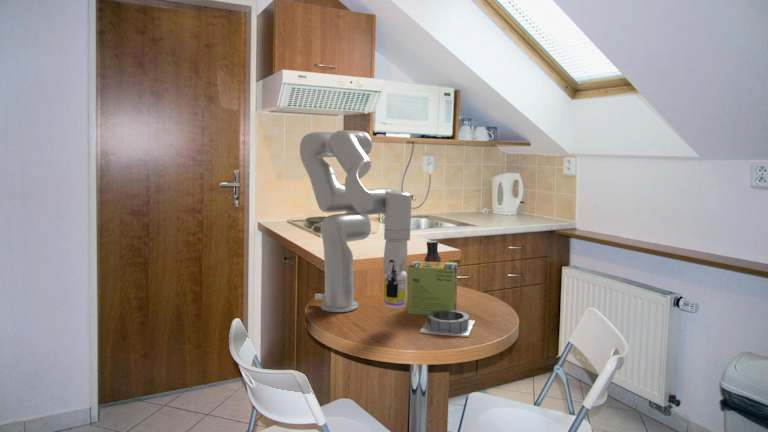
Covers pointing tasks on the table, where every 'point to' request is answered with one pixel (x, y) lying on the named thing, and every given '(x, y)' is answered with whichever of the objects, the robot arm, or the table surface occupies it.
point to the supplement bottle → (401, 294)
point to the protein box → (432, 287)
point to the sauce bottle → (432, 252)
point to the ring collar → (448, 323)
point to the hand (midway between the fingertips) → (395, 293)
